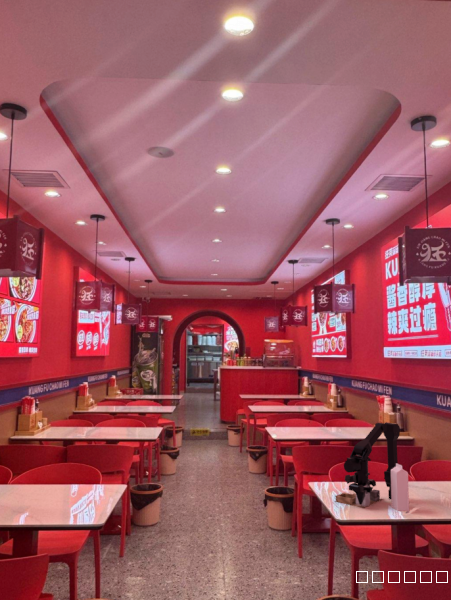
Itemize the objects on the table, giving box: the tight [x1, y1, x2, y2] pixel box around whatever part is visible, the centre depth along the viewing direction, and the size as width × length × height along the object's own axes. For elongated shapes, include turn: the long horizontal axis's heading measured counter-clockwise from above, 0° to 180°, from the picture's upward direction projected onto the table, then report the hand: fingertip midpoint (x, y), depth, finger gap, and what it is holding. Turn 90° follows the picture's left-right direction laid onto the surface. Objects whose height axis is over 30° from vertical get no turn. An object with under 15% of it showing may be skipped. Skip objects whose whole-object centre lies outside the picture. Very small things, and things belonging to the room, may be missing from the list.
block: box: [356, 490, 371, 508], centre depth 235 cm, size 5×5×7 cm
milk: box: [390, 463, 410, 514], centre depth 231 cm, size 6×6×22 cm
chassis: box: [334, 489, 384, 509], centre depth 243 cm, size 16×22×6 cm
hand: (362, 503), depth 235 cm, fingers closed on block, 5 cm apart
